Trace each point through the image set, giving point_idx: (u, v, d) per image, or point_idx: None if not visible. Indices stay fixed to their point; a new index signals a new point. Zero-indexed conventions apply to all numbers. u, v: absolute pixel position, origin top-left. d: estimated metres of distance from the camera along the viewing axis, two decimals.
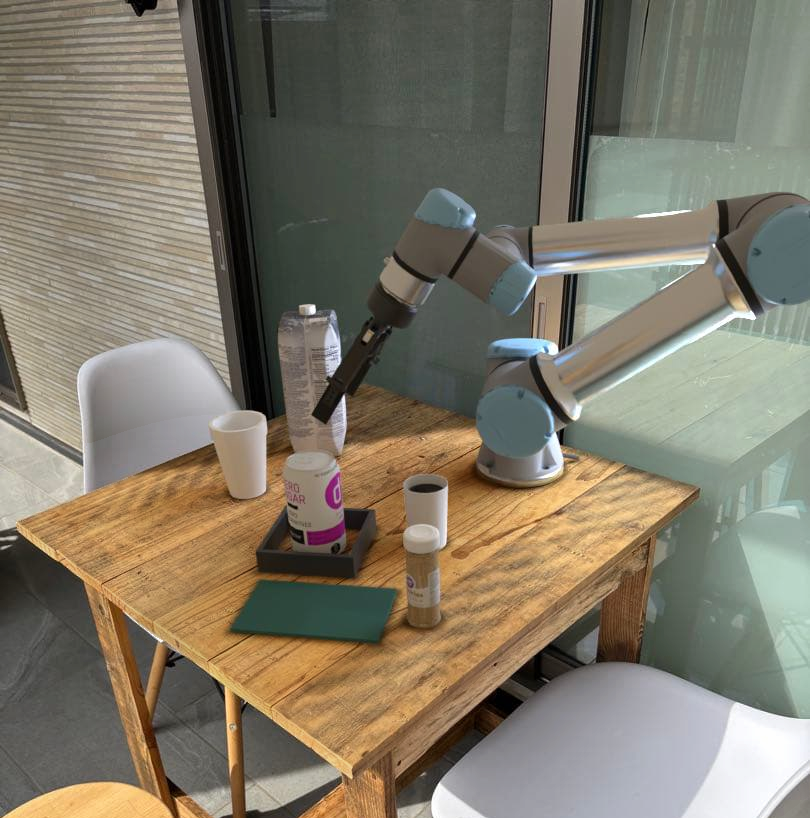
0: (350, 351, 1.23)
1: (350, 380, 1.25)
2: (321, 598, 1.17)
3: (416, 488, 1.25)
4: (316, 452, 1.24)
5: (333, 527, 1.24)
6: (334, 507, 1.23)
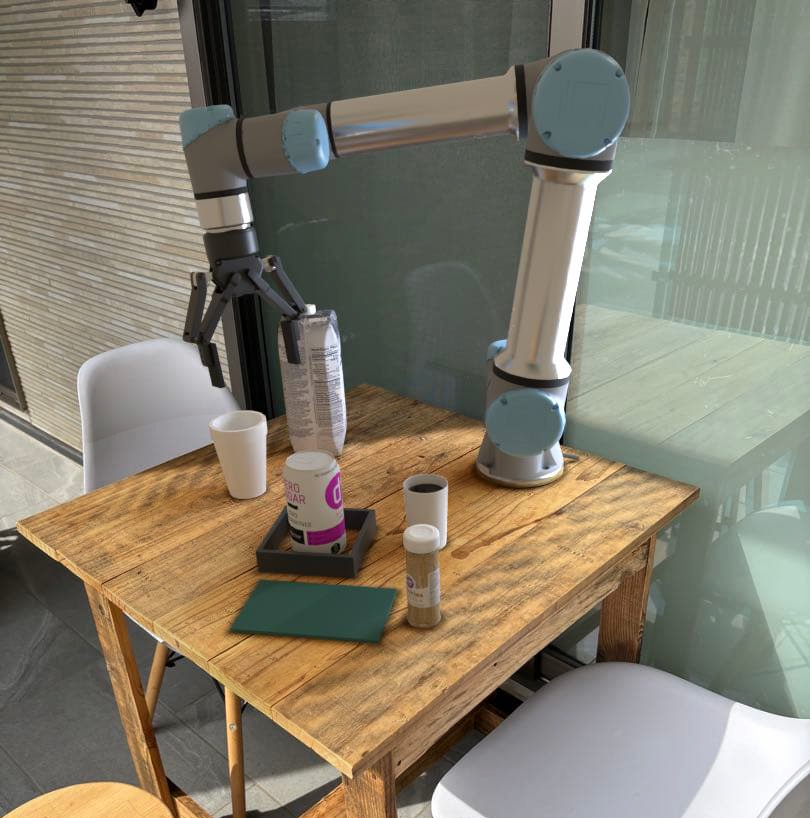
0: (189, 302, 1.21)
1: (206, 330, 1.21)
2: (321, 598, 1.17)
3: (416, 488, 1.25)
4: (316, 452, 1.24)
5: (333, 527, 1.24)
6: (334, 507, 1.23)
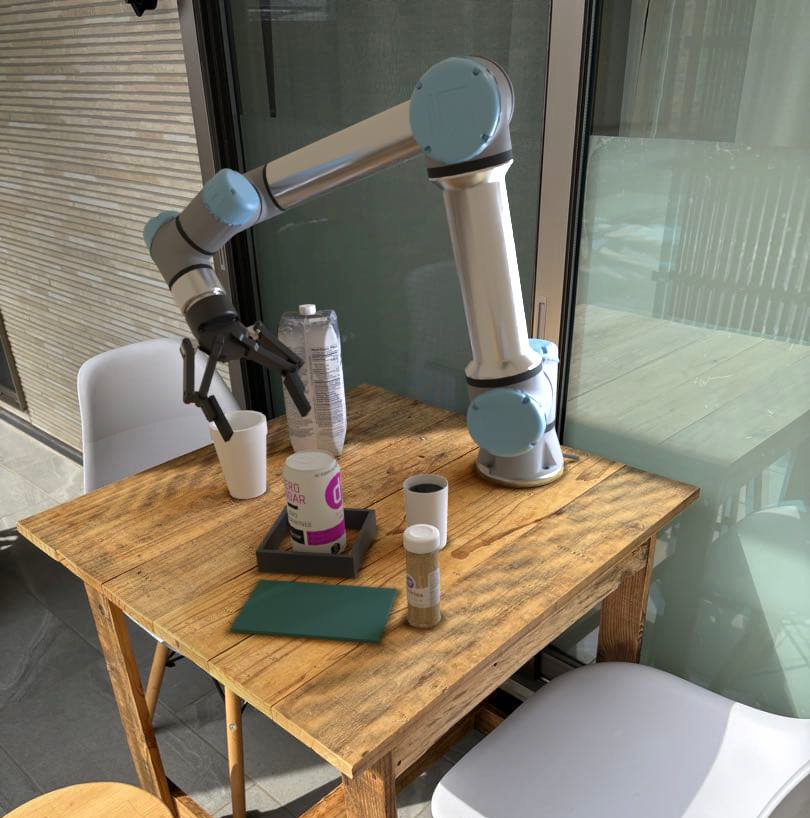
0: (183, 370, 1.26)
1: (201, 385, 1.24)
2: (321, 598, 1.17)
3: (416, 488, 1.25)
4: (316, 452, 1.24)
5: (333, 527, 1.24)
6: (334, 507, 1.23)
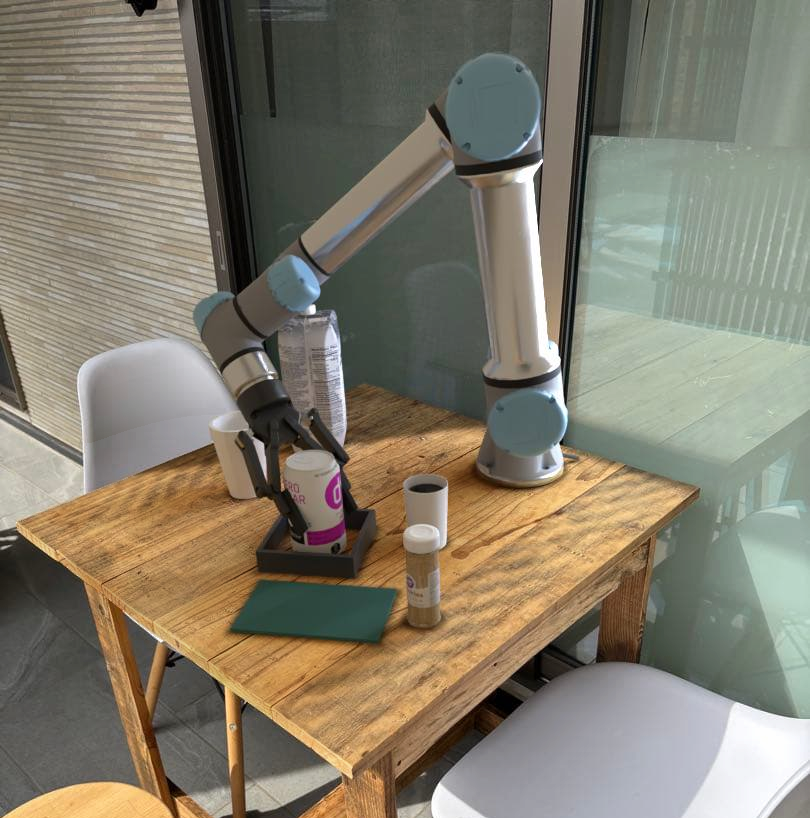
0: (246, 463, 1.23)
1: (272, 479, 1.21)
2: (321, 598, 1.17)
3: (416, 488, 1.25)
4: (316, 452, 1.24)
5: (333, 527, 1.24)
6: (334, 507, 1.23)
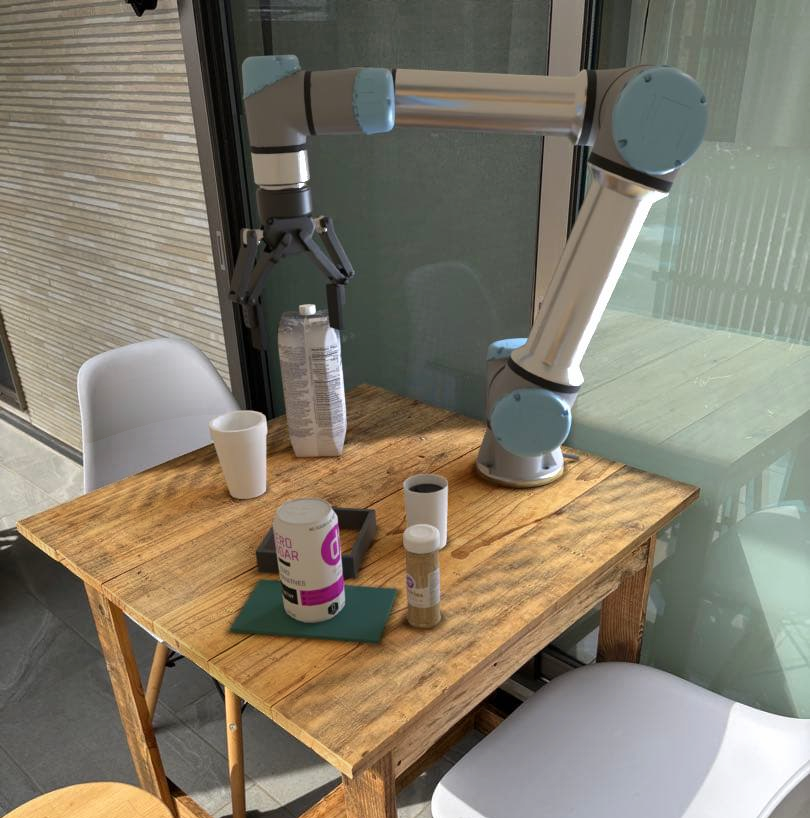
0: (238, 259, 1.17)
1: (252, 290, 1.18)
2: None
3: (416, 488, 1.25)
4: (311, 500, 1.10)
5: (331, 585, 1.09)
6: (331, 563, 1.08)
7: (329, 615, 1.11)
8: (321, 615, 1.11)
